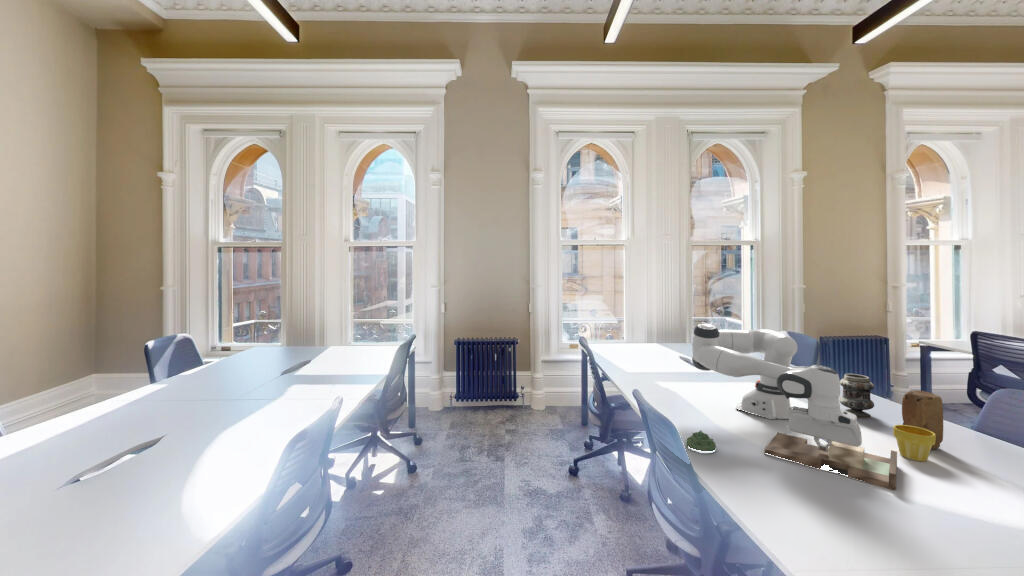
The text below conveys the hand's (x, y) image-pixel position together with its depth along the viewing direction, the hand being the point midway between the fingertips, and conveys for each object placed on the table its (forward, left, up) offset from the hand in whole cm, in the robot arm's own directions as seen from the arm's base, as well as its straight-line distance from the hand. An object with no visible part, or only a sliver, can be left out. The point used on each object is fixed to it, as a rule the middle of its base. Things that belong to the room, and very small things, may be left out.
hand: (823, 450), depth 136 cm
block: (+24, +39, -3) cm, 46 cm away
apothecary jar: (+4, +63, -3) cm, 63 cm away
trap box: (+1, 0, -3) cm, 3 cm away
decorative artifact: (-34, -20, -4) cm, 40 cm away
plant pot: (+22, +23, -3) cm, 32 cm away
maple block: (+6, 0, -1) cm, 6 cm away
